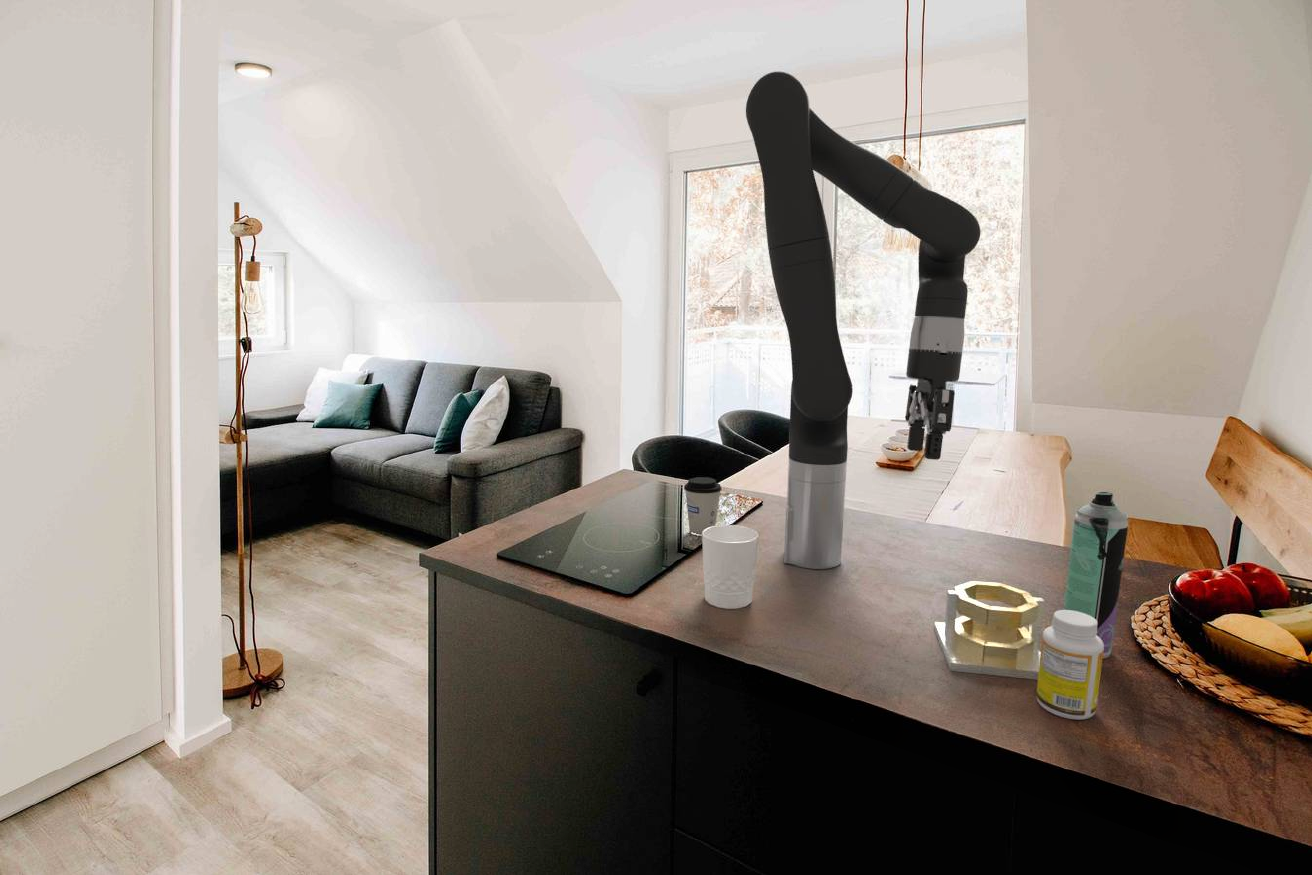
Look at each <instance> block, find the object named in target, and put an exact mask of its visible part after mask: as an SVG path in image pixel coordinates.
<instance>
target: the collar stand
mask: <svg viewBox="0 0 1312 875" xmlns="http://www.w3.org/2000/svg"><path fill="white" fill-rule="evenodd" d="M946 594H947V596H946V606H945V618H944V622H939V621H934V626H933V627H934V628H933V630H934V633H935V634H936V638H937V639H938V642H939V645H940V648H941V651H942V652H943V655H944V658H945V661H946V663H947V666H948V667H949V668H948V669H949V671H951V672H960V673H969V674H979V675H989V676H999V677H1006V678H1007V677H1008V678H1018V679H1025V680H1026V679H1027V680H1028V679H1029V680H1036V681H1038V674H1039V664H1040V655H1041V650H1039V649H1040V644H1041V643H1040V642H1041V635H1042V626H1043V625H1042V624H1043V619H1044V618H1043V615H1044V610H1045V609H1044V607H1045V600H1044V598H1042V597H1033V596H1032V595H1031V592H1030V593H1029V592H1028V591H1025V590H1022V589H1018V588H1016V587H1013V586H1010V585H1007V584H1004V583H1002V582H1000V583H999V582H991V581H988V582H987V581H975V580H970V581H967V582H965V583H962V584H958V585H956V586H954V588H953V590H951V589H950V590H949V589H948V590H947V593H946ZM979 600H980V601H993V602H1000V603H1002V604H1005V605H1008V606H1010V607H1006V606H1005V607H1004V606H994V605H988V604H986V603H983V602H980V601H979ZM957 613H958V614H959V615H960V617H957ZM1026 626H1029V628H1028V629H1027V627H1026Z"/></svg>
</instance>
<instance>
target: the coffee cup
mask: <svg viewBox="0 0 1312 875" xmlns="http://www.w3.org/2000/svg"><path fill="white" fill-rule="evenodd" d="M683 489H684V490H685V491H684V492H685V498H686V499H685V501H686V508H687V509H686V510H687V519H688V527H689V528H688V529H689V533H690V532H693V533H696V534H702V532H703V530H705V529H706V528H709V527H712V526H717V525H716V524H717V518H718V511H719V510H718V509H719V504H720V497H721V491H722V486H721V484H720V483H717V480H716V479H715V478H712V477H706V476H703V477H702V476H698V477H693V478H689V479H688V481H687V483H685V484H684V486H683Z"/></svg>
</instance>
